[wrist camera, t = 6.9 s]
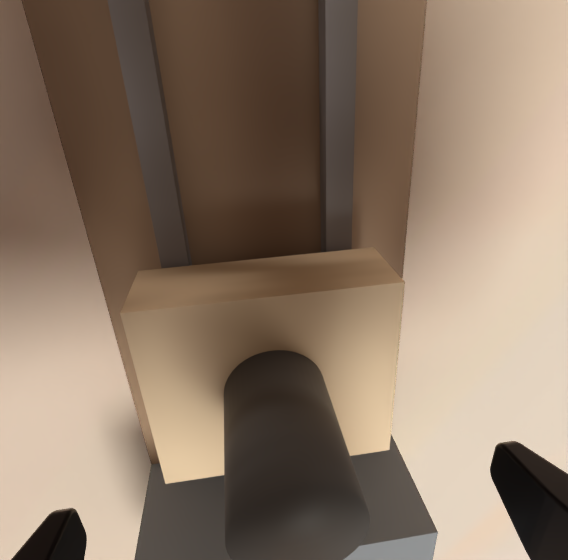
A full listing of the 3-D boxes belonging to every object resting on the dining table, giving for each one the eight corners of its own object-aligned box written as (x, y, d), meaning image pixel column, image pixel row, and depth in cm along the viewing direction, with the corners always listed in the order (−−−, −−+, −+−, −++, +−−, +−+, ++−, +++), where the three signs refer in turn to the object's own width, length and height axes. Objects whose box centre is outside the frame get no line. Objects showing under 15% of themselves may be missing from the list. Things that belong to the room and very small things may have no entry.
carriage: (173, 424, 15) (143, 647, 9) (137, 270, 12) (61, 449, 6) (365, 397, 15) (452, 588, 10) (373, 247, 13) (499, 388, 7)
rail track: (156, 435, 18) (138, 538, 14) (-51, -362, 8) (-309, -777, 4) (377, 404, 19) (418, 492, 15) (427, -340, 9) (586, -658, 5)
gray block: (178, 521, 21) (164, 675, 15) (156, 435, 18) (129, 585, 13) (381, 489, 22) (433, 622, 16) (388, 403, 19) (453, 529, 14)
